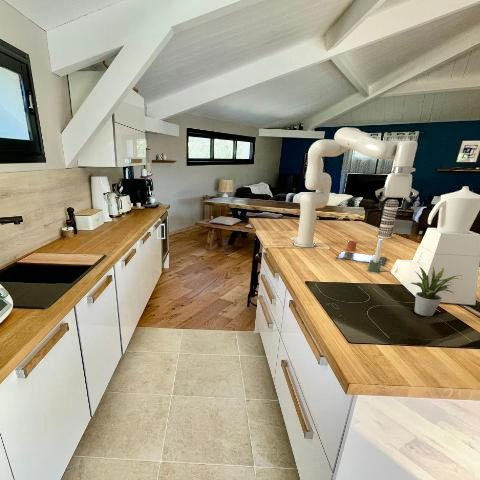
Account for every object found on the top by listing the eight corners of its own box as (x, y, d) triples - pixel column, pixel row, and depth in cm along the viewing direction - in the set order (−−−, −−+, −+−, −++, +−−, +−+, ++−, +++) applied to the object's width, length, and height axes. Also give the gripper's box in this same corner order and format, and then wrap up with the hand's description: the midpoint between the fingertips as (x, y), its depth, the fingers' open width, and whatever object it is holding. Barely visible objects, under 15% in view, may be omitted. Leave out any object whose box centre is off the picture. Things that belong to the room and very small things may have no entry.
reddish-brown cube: (345, 250, 184) (347, 241, 182) (347, 248, 188) (348, 240, 186) (354, 251, 182) (356, 242, 180) (355, 249, 185) (357, 241, 183)
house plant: (454, 328, 96) (472, 278, 90) (401, 317, 103) (414, 270, 97) (449, 311, 107) (464, 266, 101) (401, 302, 114) (413, 259, 108)
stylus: (371, 270, 147) (378, 239, 141) (371, 269, 148) (378, 238, 143) (375, 271, 146) (383, 239, 140) (376, 270, 147) (383, 239, 142)
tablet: (336, 259, 166) (336, 257, 166) (342, 252, 179) (342, 251, 178) (383, 266, 155) (383, 264, 154) (386, 258, 167) (386, 257, 167)
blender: (387, 273, 145) (409, 182, 130) (433, 276, 141) (461, 183, 126) (416, 301, 115) (449, 188, 101) (474, 306, 111) (518, 189, 96)
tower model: (391, 238, 212) (400, 201, 202) (376, 237, 216) (384, 200, 207) (392, 236, 219) (401, 199, 210) (377, 235, 223) (385, 198, 214)
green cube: (367, 272, 147) (369, 261, 145) (368, 269, 150) (371, 259, 148) (378, 273, 144) (381, 263, 142) (379, 271, 148) (382, 261, 146)
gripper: (420, 171, 141) (411, 209, 147) (377, 171, 146) (370, 208, 152) (426, 171, 134) (416, 211, 140) (381, 171, 139) (373, 210, 145)
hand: (392, 210), depth 146 cm, fingers open, 9 cm apart
